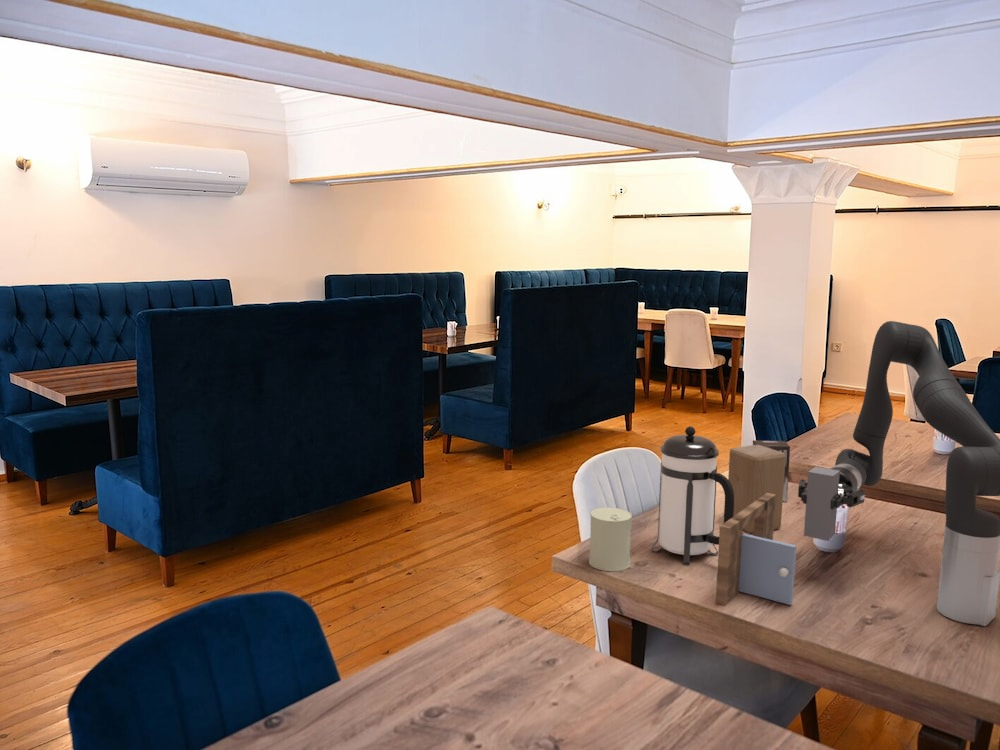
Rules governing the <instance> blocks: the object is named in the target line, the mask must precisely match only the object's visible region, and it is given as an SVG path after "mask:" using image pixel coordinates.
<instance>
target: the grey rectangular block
mask: <svg viewBox="0 0 1000 750" xmlns="http://www.w3.org/2000/svg"><path fill="white" fill-rule="evenodd" d="M839 475H840V471H839V470H833V469H830V468H826V467H820V466H814V467H812V468H811V469H810V470H808V472H807V482H808V483H807V502H806V504H805V516H804V529H803V530H804V531H803V536H804V537H808V538H813V539H817V540H821V541H822V540H823V541H827V542H829V541H830V540H831V539H832V538H833V537H834V536H835V535H836V527H837V525H836V523H837V513H838V508H835V509H831V508H830V506H831V499H832V498H833V497H834V496H835V495H838V488H839Z"/></svg>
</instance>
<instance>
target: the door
mask: <svg viewBox="0 0 1000 750" xmlns="http://www.w3.org/2000/svg"><path fill="white" fill-rule="evenodd" d="M796 556H797V545H796V544H791V543H788V542H783V541H778V540H775V539H773V540H770V539H766V538H761V537H757V536H754V535H753V534H749V533H748V534H747V533H743V532H742V542H741V558H740V575H739V592H741V593H745V594H748V595H752V596H755V597H760V598H763V599H767V600H771V601H774V602H778V603H781V604H785V605H788V606H791V605H792V604H793V600H794V597H793V596H794V586H795V574H796V573H795V571H796Z"/></svg>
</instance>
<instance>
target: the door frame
mask: <svg viewBox="0 0 1000 750" xmlns="http://www.w3.org/2000/svg"><path fill="white" fill-rule="evenodd" d="M775 500H776V495H775V494H770V493H766V494H765V495H763V496H762V497H760V498H759V499H758V500H756V501H755V502H753V503H752V504H750V505H749V506H748V507H746V508H745V509H743V510H742V511H741V512H739V513H738V514H736V515H735V516H734V517H732V518H731V519H729V520H728V521H726V522H725V523H724V522H723V523H722V524H721V525H719V536H718V537H719V545H718V550H717V551H718V554H717V572H716V573H717V574H716V590H715V591H716V592H715V604H718V605H722V606H727V605H728V604H729V603H730V602H731V601H732V600H733V599H734V598H735V597H736V596H738V594H739V592H740V591H739V575H740V558H741V542H742V533H743V530H742V528H743V527H745V526H746V525H747V524H749V523H750V522H751V521H753V520H754V519H755V523H754V534H753V536H757V537H761V538H766V539H770V540H774V515H775Z"/></svg>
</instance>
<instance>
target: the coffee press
mask: <svg viewBox="0 0 1000 750" xmlns="http://www.w3.org/2000/svg"><path fill="white" fill-rule="evenodd" d="M684 432H685V434H678V435H673V436H670V437H668V438H667V439H665V440H664V442H663V444H662V445H661V446H660V453H661V462H660V473H659V474H660V475H659V492H660V493H659V499H658V500H659V501H658V515H659V517H657V518H658V523H657V539H656V540H655V542H654V543H653V544H652V546H651V549H652V551H653V552H654V553H658V552H659V551H661V550H662V549H664V550H666V551H667V552H670V553H673V554H677V555H682V556H683V557H682V558H683V565H691V556H698V555H702V554H705V553H707V552H708V553H709V554H710V555H711V556H713V557H716V556H718V551H719V550H718V549H717V547H716V545H718V546H719V536H717V535H715V533H714V530H715V516H716V515H715V513H716V512H715V511H716V499H717V497H716V496H717V495H716V494H717V483H718V484H719V485H721V487H722V489H723V493H724V506H723V507H724V510H723V524H724V523H725V522H726V521H728V520H729V519H731V518H732V517H733V513H734V492H733V488H732V485H731V483H730V481H729V480H728V478H727V477H726V476H725V475H723V474H722V473H719V472H718V466H717V458H718V456H719V453H720V451H719V449H718V448H717V446H716V444H715V442H714V441H712V440H711V439H709V438H707V437H704V436H701V435H695V434H696V430H695V428H694V427H693V426H688V427H686V428H685V430H684ZM658 543H659V545H660V546H659V547H658V548H655V546H656V545H657V544H658ZM712 546H713V548H714V549H715V551H716V552H712V551H711V550H710V549H711V548H712Z"/></svg>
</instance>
